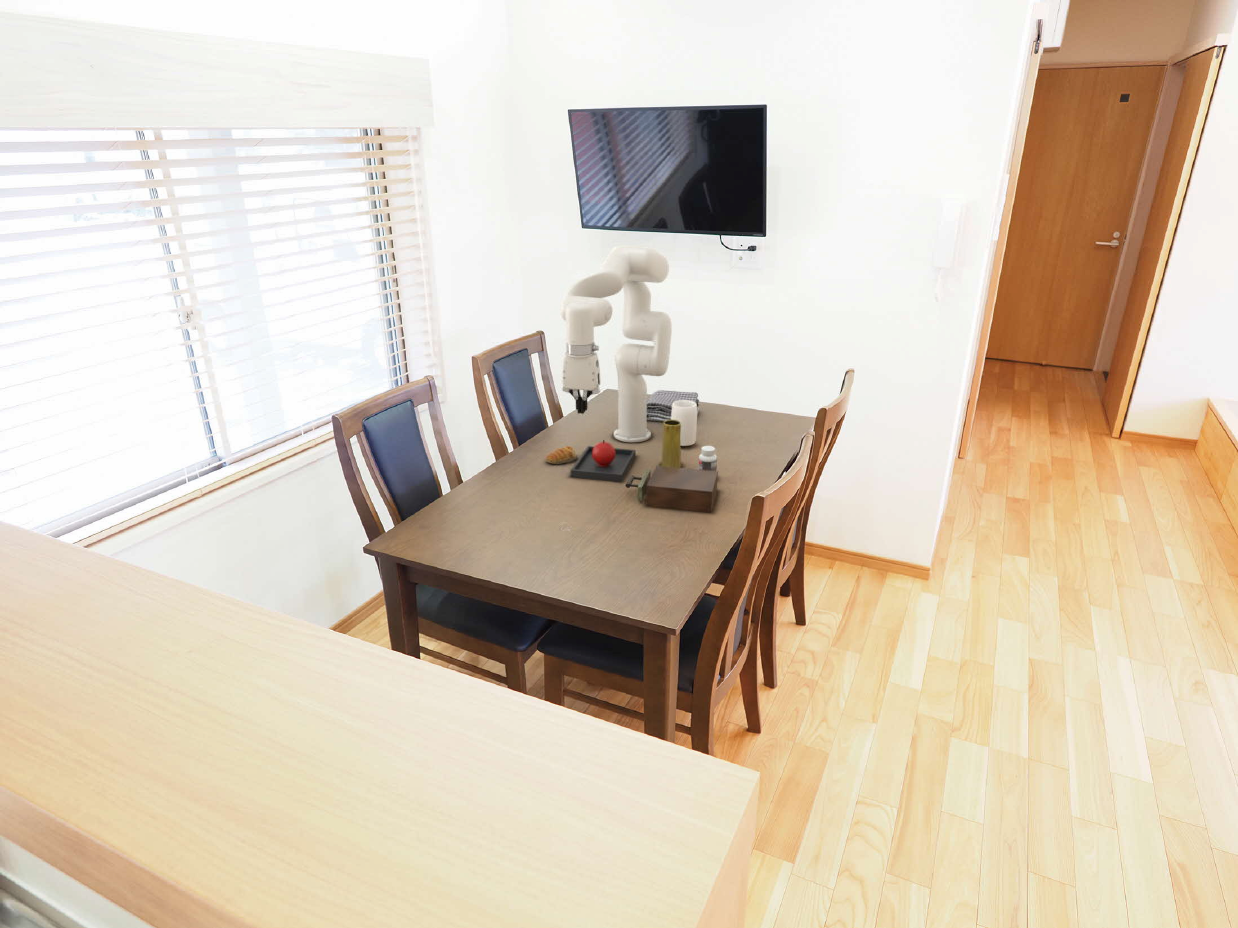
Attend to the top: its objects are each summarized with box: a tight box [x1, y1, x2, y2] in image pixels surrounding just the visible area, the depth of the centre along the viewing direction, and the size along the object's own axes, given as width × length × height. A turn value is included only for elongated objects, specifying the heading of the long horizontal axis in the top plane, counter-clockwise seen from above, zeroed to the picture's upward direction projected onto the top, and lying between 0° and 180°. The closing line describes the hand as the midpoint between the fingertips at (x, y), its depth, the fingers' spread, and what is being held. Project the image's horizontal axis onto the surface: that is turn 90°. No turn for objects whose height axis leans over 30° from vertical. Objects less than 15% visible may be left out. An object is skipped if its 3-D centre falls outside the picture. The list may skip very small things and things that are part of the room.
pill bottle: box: [697, 445, 718, 471], centre depth 231 cm, size 5×5×10 cm
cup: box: [671, 400, 698, 447], centre depth 255 cm, size 8×8×14 cm
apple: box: [592, 439, 616, 467], centre depth 240 cm, size 7×7×8 cm
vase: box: [660, 420, 682, 468], centre depth 239 cm, size 6×6×14 cm
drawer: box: [625, 468, 652, 502], centre depth 221 cm, size 21×13×4 cm, turn 77°
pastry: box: [546, 445, 578, 465], centre depth 245 cm, size 9×7×4 cm
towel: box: [647, 389, 700, 422], centre depth 281 cm, size 15×18×8 cm
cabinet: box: [646, 465, 719, 513], centre depth 220 cm, size 18×14×6 cm
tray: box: [570, 445, 637, 483], centre depth 241 cm, size 20×16×2 cm
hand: (581, 412), depth 222 cm, fingers closed
